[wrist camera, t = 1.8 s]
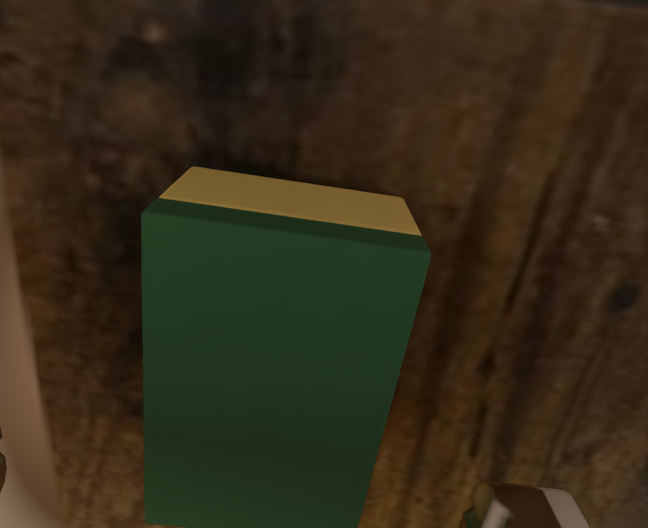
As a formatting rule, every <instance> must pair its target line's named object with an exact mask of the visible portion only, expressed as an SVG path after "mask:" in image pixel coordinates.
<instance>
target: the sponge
mask: <svg viewBox="0 0 648 528" xmlns="http://www.w3.org/2000/svg"><path fill="white" fill-rule="evenodd" d="M141 252H142V337H143V422H144V507H145V522H146V523H149V524H159V525H169V526H178V527H188V528H358V524H359V521H360V517H361V513H362V510H363V506H364V502H365V499H366V495H367V491H368V488H369V484H370V480H371V477H372V473H373V469H374V466H375V462H376V458H377V455H378V451H379V447H380V444H381V440H382V436H383V433H384V429H385V425H386V422H387V418H388V414H389V411H390V407H391V403H392V400H393V396H394V392H395V388H396V385H397V381H398V377H399V374H400V370H401V366H402V363H403V359H404V355H405V352H406V348H407V344H408V341H409V337H410V333H411V330H412V326H413V322H414V319H415V315H416V311H417V308H418V304H419V300H420V297H421V293H422V289H423V286H424V282H425V278H426V275H427V271H428V267H429V264H430V260H431V256H432V255H431V252H430V250H429V248H428V246H427V244H426V242H425V240H424V238H423V237H422V236H421V233H420V231H419V229H418V227H417V225H416V223H415V221H414V219H413V217H412V215H411V213H410V211H409V209H408V207H407V205H406V203H405V201H404V199H403V198H401V197H396V196H389V195H382V194H376V193H369V192H362V191H356V190H349V189H342V188H336V187H329V186H322V185H315V184H309V183H302V182H295V181H289V180H282V179H275V178H268V177H262V176H255V175H248V174H242V173H235V172H228V171H222V170H215V169H208V168H201V167H195V166H194V167H191V168H190V169H189V170H187V171H186V172H185V173H184V174H183V175H182V176H181V177H180V178H179V179H178V180H177V181H176V182H174V183H173V184H172V185H171V186H170V187H169V188H168V189H167V190H166V191H165V192H164V193H163V194H161V195H160V197H159V198H158V199H156V200H155V201H153V202H152V203H151V204H150V205H149V206H148V207H147V208H146V209H145V210H144V211H143V212H142V214H141Z"/></svg>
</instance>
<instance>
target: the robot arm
mask: <svg viewBox="0 0 648 528" xmlns="http://www.w3.org/2000/svg"><path fill="white" fill-rule="evenodd" d="M1 438H2V433H1V428H0V439H1ZM6 469H7V468H6V460H5V457H4V455H2V453H1V452H0V492H1V489H2V487H3V485H4V482H5V475H6ZM471 498H472V501H473V504H474V506H473V507H472V508H470V509H469V510H467V511H466V512H464V513H463V516H462V519H461V521H460V524H459V528H590V527H589V526H588V524H587V522H586V520H585V518H584V517H583V515H582V513H581V511H580V510H579V508H578V506H577V504H576V503H575V501H574V499H573V497H572V496H571V495H570V494H569V493H568V492H567V491H565V490H560V489H552V488H543V487H533V486H527V485H518V484H510V483H501V482H492V481H484V480H480V481H479V482H478V483H477V484H476V485H475V486H474V489H473V491H472V493H471Z"/></svg>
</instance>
